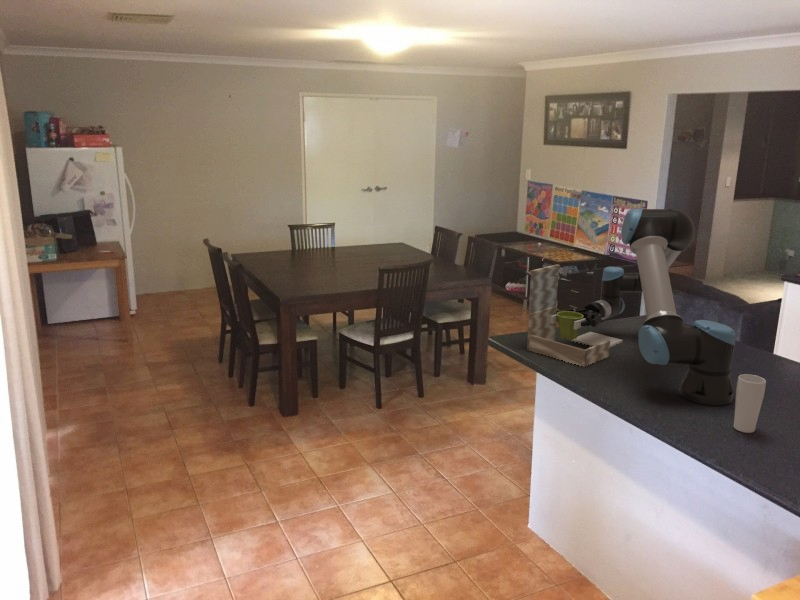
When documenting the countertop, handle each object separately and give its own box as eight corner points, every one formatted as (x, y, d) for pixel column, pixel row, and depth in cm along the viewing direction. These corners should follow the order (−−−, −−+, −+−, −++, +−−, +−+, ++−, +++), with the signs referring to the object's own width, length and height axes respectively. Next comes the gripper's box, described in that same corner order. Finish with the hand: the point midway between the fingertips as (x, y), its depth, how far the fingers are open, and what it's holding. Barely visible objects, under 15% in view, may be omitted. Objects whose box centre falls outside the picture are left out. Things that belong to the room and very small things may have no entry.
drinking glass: (749, 423, 184) (757, 373, 180) (763, 435, 177) (771, 383, 174) (725, 424, 184) (733, 373, 180) (738, 435, 177) (746, 383, 173)
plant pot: (579, 334, 242) (581, 311, 240) (583, 342, 233) (585, 318, 231) (553, 333, 244) (555, 310, 241) (556, 340, 234) (558, 317, 232)
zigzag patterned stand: (551, 340, 254) (557, 264, 246) (608, 356, 237) (616, 275, 229) (525, 349, 243) (530, 270, 235) (584, 367, 226) (591, 282, 218)
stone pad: (590, 333, 263) (590, 331, 262) (622, 342, 253) (622, 340, 252) (570, 340, 253) (570, 339, 253) (603, 350, 243) (603, 348, 243)
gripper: (621, 327, 242) (589, 339, 227) (571, 315, 257) (537, 326, 242) (623, 307, 240) (590, 318, 225) (572, 296, 255) (538, 306, 240)
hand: (563, 322), depth 234 cm, fingers closed on plant pot, 9 cm apart
